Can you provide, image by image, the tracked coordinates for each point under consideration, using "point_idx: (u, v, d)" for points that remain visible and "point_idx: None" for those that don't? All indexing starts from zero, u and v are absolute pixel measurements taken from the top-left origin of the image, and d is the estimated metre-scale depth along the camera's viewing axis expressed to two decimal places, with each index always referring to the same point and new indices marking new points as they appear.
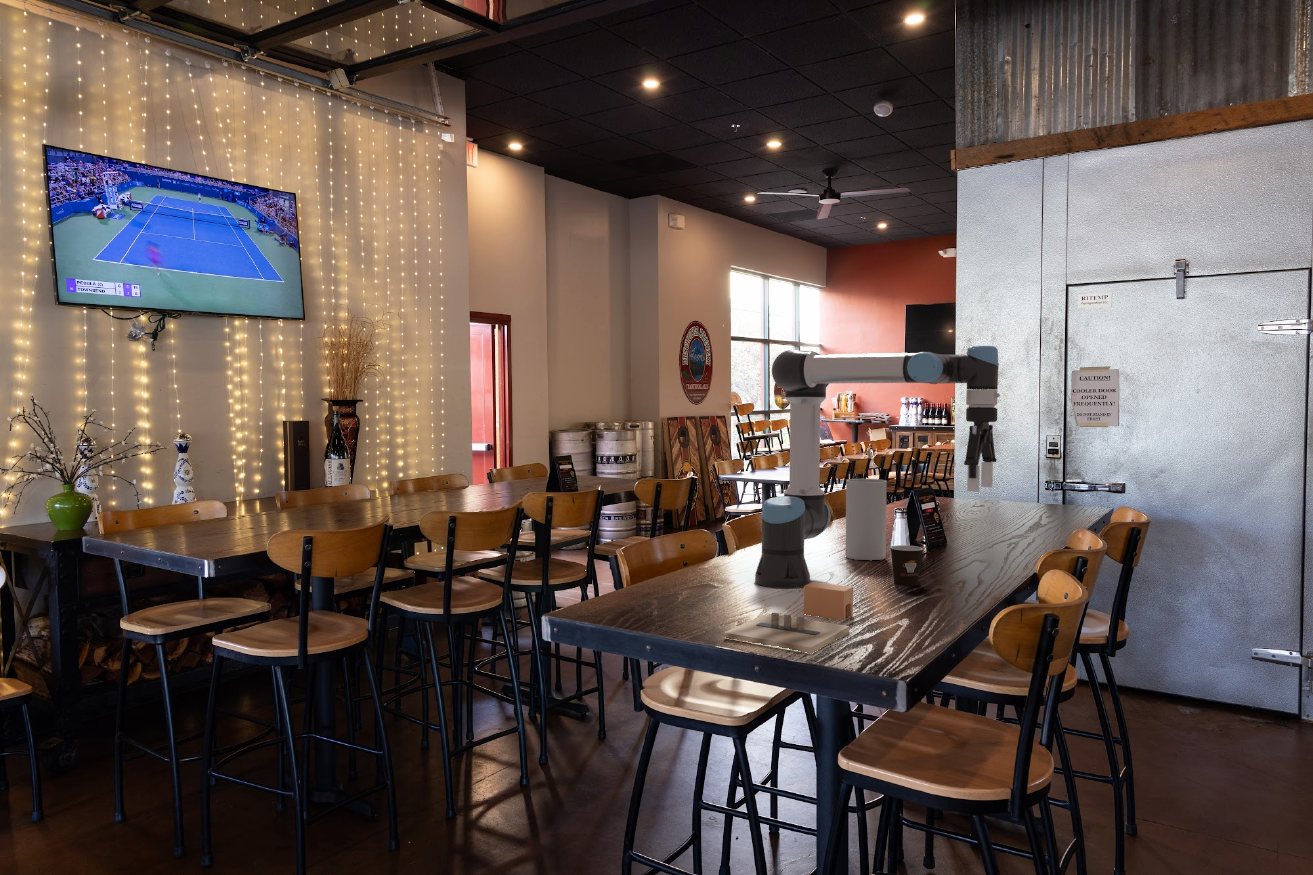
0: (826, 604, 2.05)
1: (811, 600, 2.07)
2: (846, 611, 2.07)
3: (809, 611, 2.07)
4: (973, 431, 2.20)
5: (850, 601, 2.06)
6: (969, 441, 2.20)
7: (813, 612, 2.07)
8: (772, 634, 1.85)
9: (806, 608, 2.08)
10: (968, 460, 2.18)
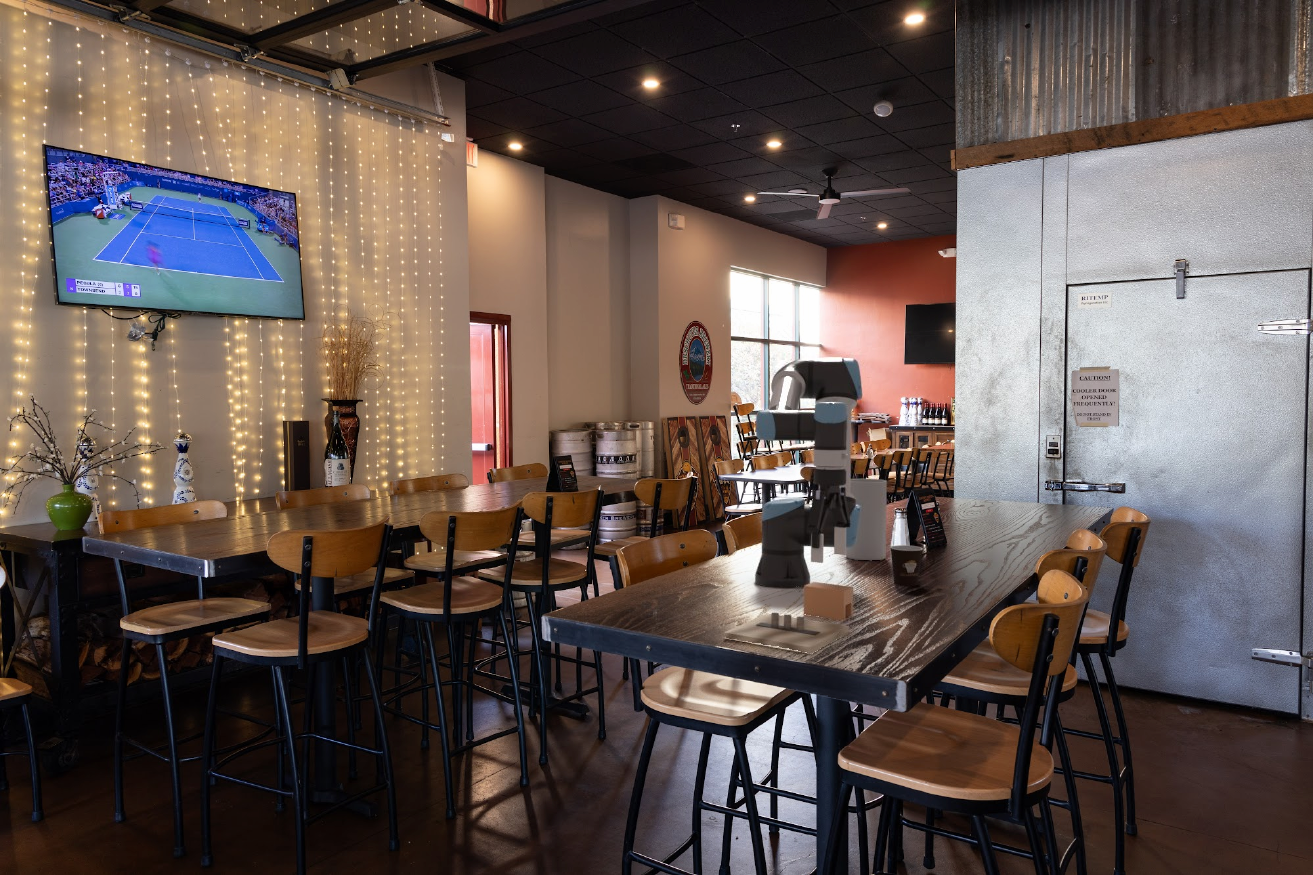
0: (826, 604, 2.05)
1: (811, 600, 2.07)
2: (846, 611, 2.07)
3: (809, 611, 2.07)
4: (816, 496, 2.01)
5: (850, 601, 2.06)
6: (812, 507, 2.00)
7: (813, 612, 2.07)
8: (772, 634, 1.85)
9: (806, 608, 2.08)
10: (809, 529, 1.98)
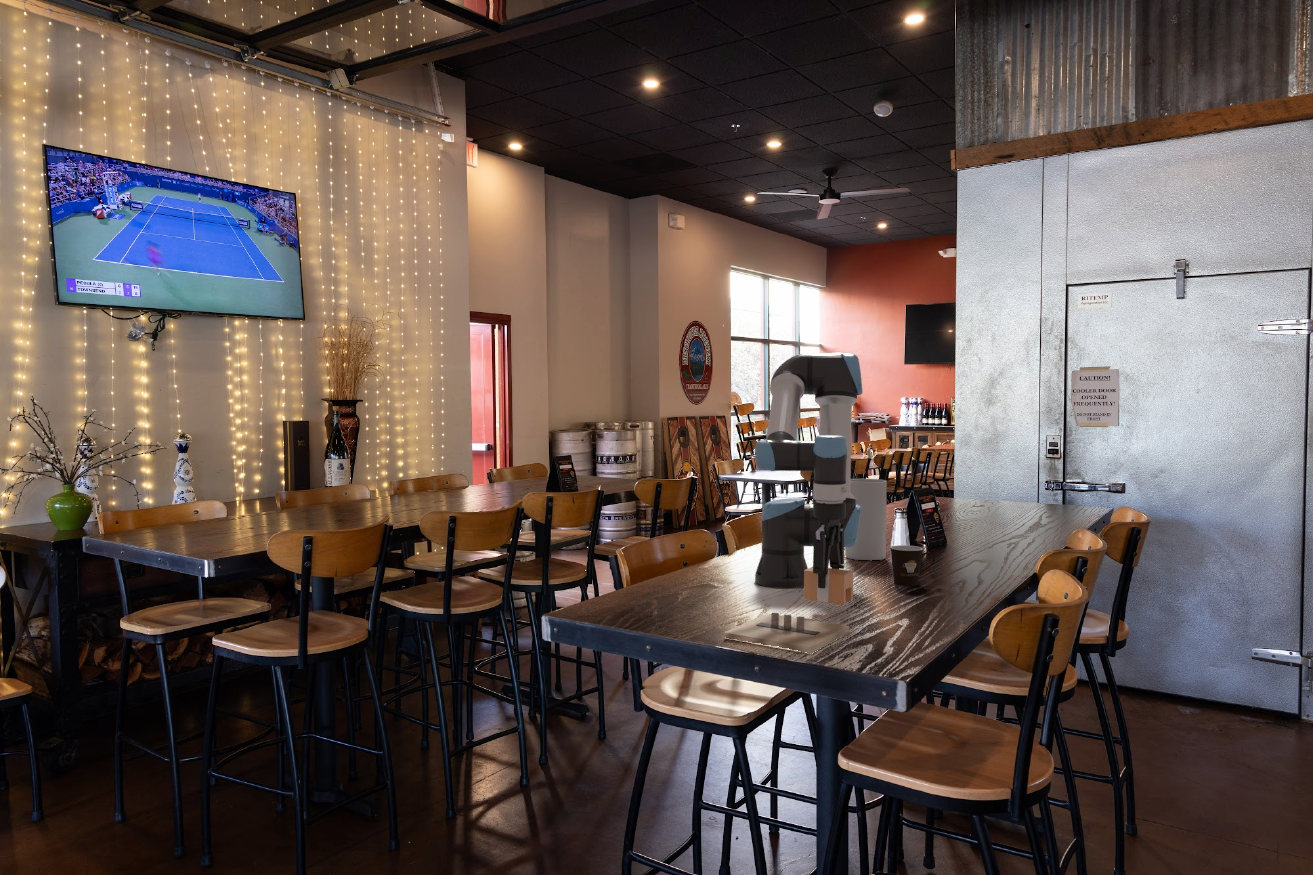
0: None
1: (811, 584, 2.07)
2: (846, 595, 2.07)
3: (809, 595, 2.08)
4: (817, 537, 2.02)
5: (850, 585, 2.06)
6: (814, 548, 2.03)
7: (813, 596, 2.07)
8: (772, 634, 1.85)
9: (807, 592, 2.08)
10: (815, 570, 2.02)
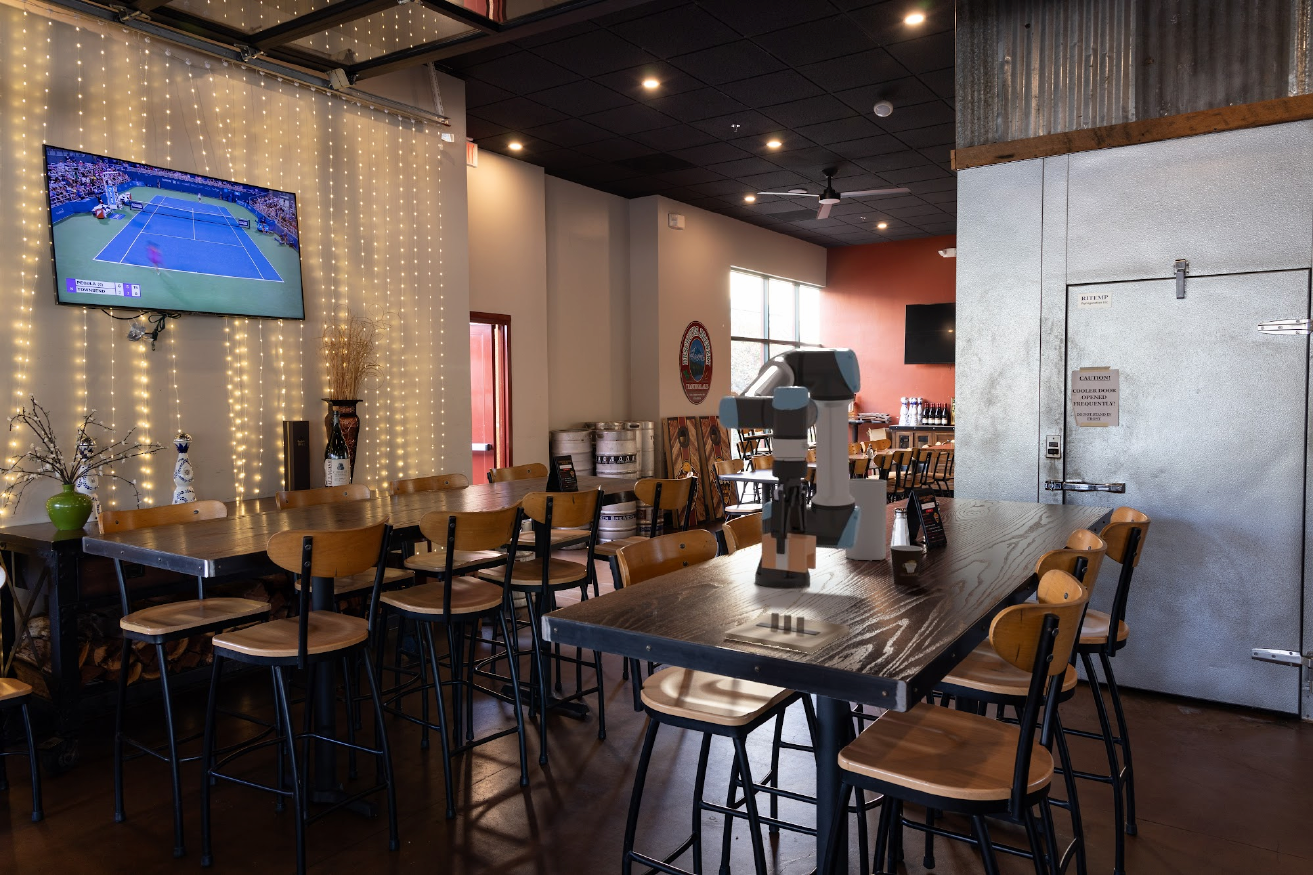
0: None
1: (770, 550, 1.88)
2: (808, 563, 1.88)
3: (768, 563, 1.89)
4: (775, 497, 1.83)
5: (812, 551, 1.87)
6: (772, 509, 1.84)
7: (772, 563, 1.88)
8: (772, 634, 1.85)
9: (765, 559, 1.89)
10: (773, 533, 1.84)
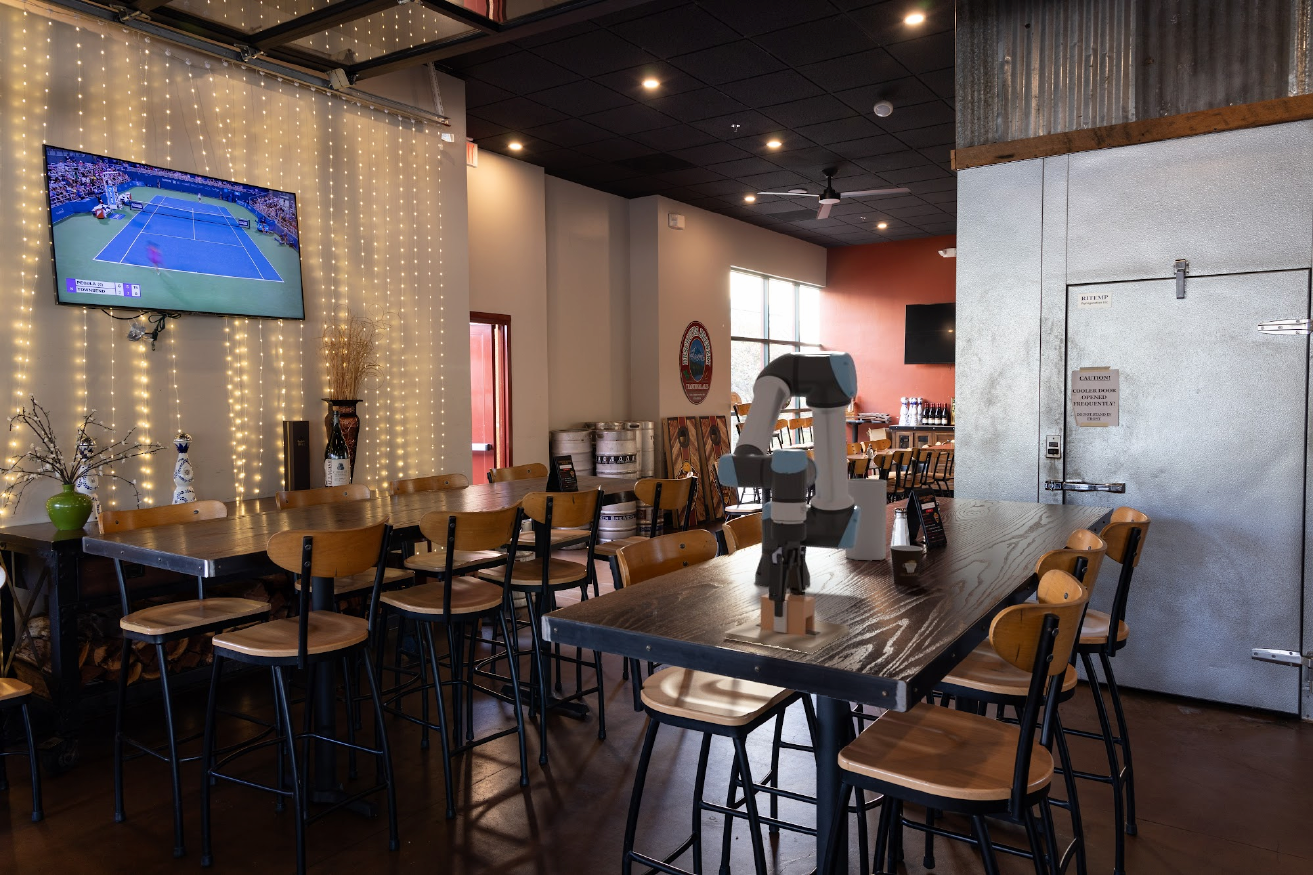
0: None
1: (768, 612, 1.89)
2: (807, 624, 1.89)
3: (766, 624, 1.89)
4: (773, 560, 1.83)
5: (811, 613, 1.87)
6: (770, 573, 1.84)
7: (771, 625, 1.88)
8: (772, 634, 1.85)
9: (764, 621, 1.89)
10: (771, 596, 1.84)
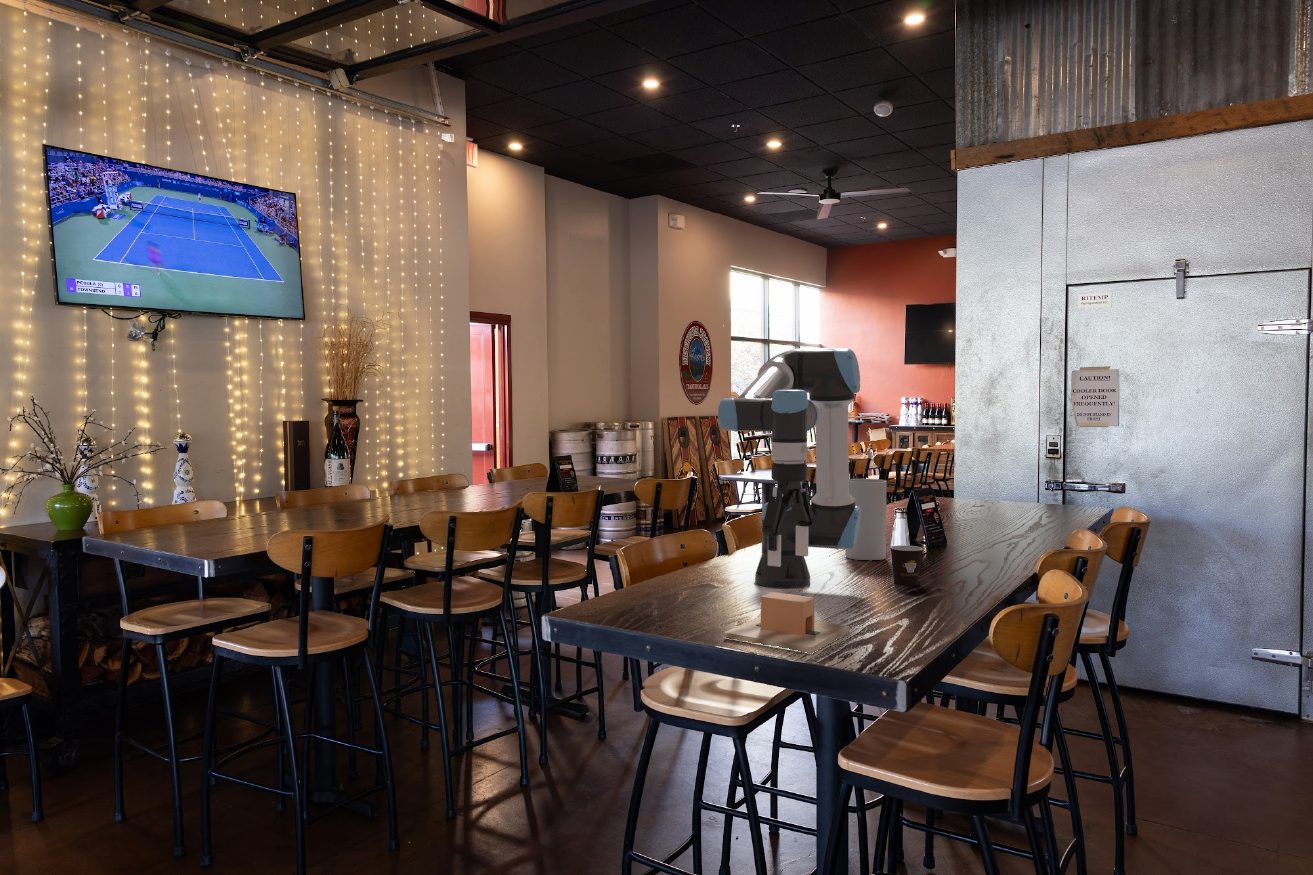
0: (785, 617, 1.86)
1: (768, 612, 1.89)
2: (807, 624, 1.89)
3: (766, 624, 1.89)
4: (773, 494, 1.83)
5: (811, 613, 1.87)
6: (768, 506, 1.82)
7: (771, 625, 1.88)
8: (772, 634, 1.85)
9: (764, 621, 1.89)
10: (765, 529, 1.80)
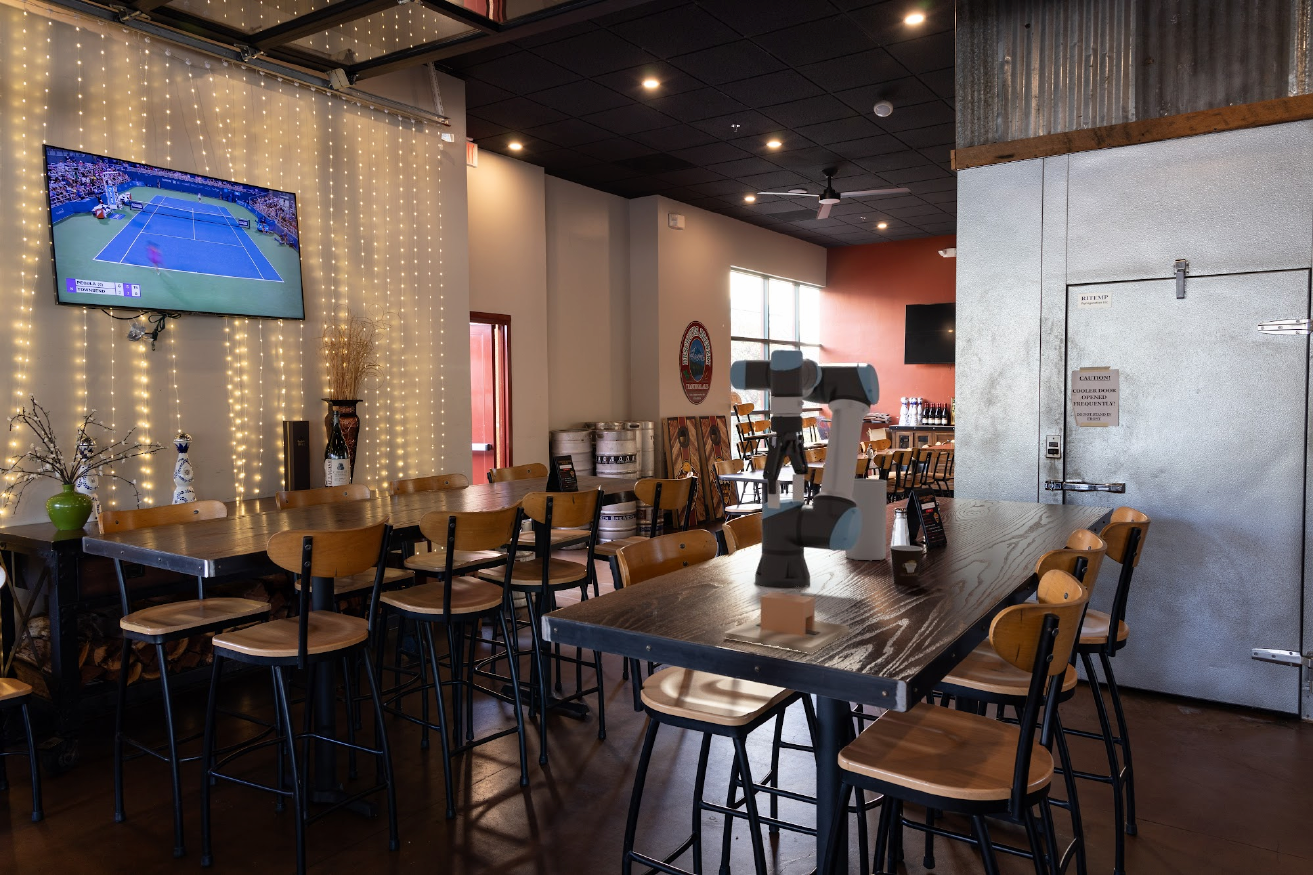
0: (785, 617, 1.86)
1: (768, 612, 1.89)
2: (807, 624, 1.89)
3: (766, 624, 1.89)
4: (772, 443, 2.02)
5: (811, 613, 1.87)
6: (768, 454, 2.02)
7: (771, 625, 1.88)
8: (772, 634, 1.85)
9: (764, 621, 1.89)
10: (765, 475, 2.00)
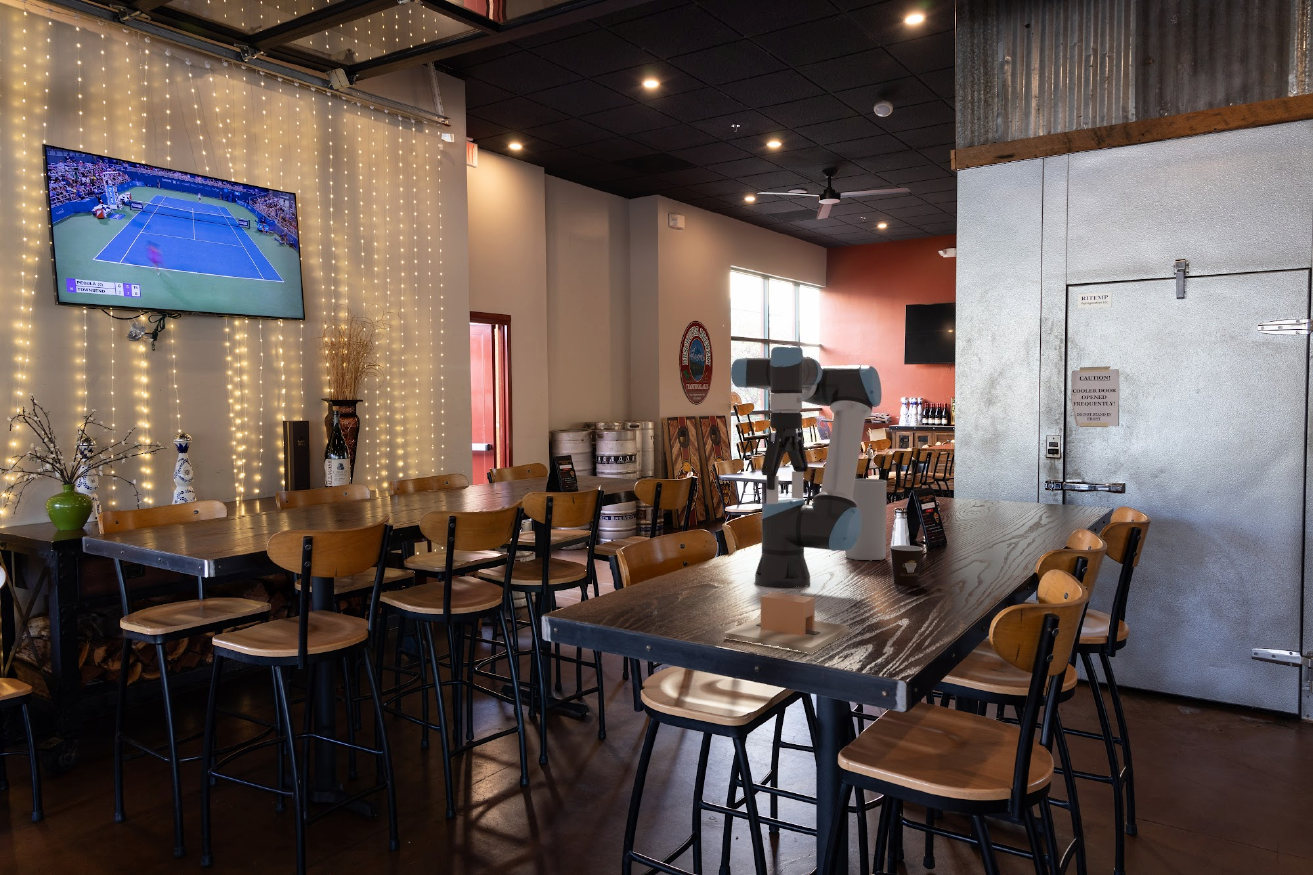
0: (785, 617, 1.86)
1: (768, 612, 1.89)
2: (807, 624, 1.89)
3: (766, 624, 1.89)
4: (772, 439, 2.03)
5: (811, 613, 1.87)
6: (767, 449, 2.03)
7: (771, 625, 1.88)
8: (772, 634, 1.85)
9: (764, 621, 1.89)
10: (764, 470, 2.01)
